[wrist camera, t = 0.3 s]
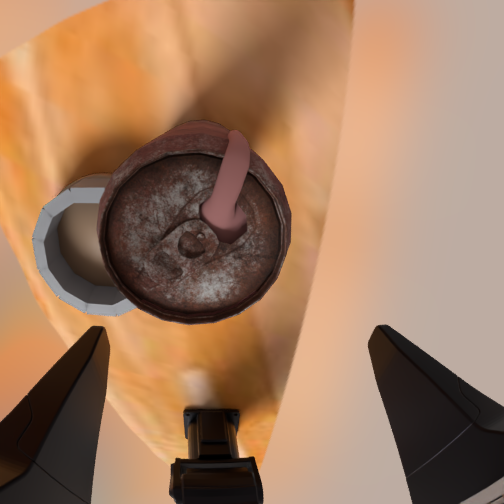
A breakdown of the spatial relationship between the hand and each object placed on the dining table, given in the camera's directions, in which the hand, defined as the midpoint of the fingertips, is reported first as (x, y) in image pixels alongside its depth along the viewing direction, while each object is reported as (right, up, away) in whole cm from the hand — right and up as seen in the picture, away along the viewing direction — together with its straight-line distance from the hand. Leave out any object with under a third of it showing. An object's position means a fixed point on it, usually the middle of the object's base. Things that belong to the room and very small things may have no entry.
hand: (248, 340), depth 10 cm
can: (-3, +9, +12) cm, 15 cm away
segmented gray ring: (-11, +4, +13) cm, 17 cm away
